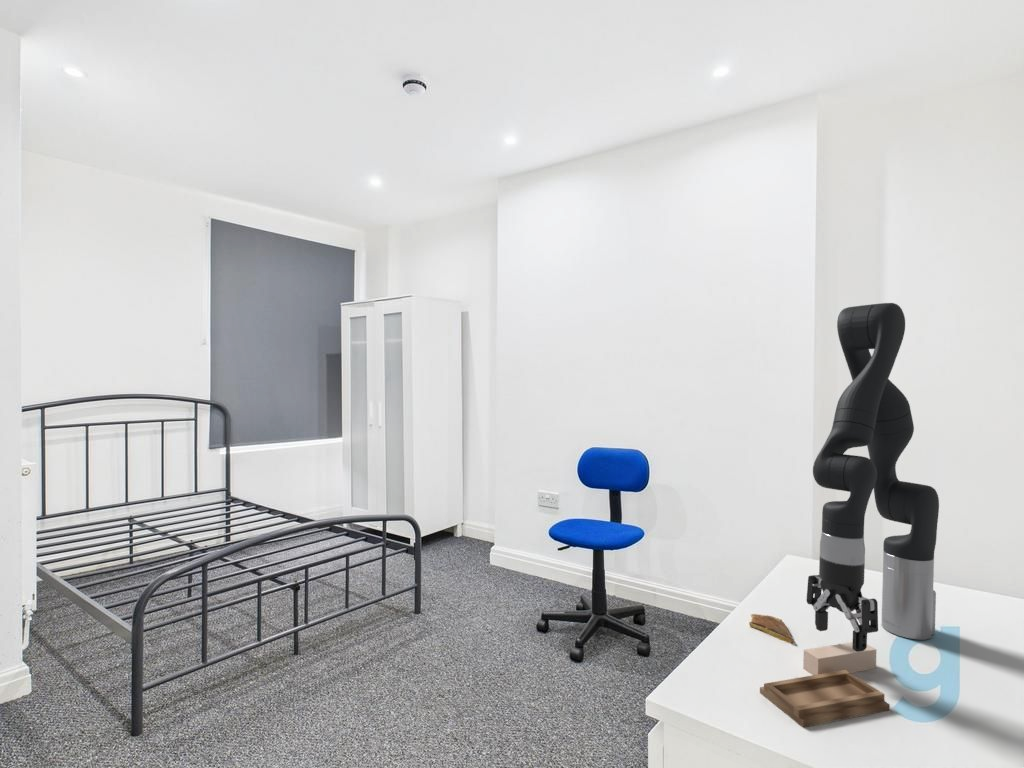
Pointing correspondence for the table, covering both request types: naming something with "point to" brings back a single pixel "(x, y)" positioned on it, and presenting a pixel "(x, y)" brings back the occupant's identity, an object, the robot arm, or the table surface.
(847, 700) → the brown wooden tray
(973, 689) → the table surface
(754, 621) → the shard
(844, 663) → the beige rectangular block
